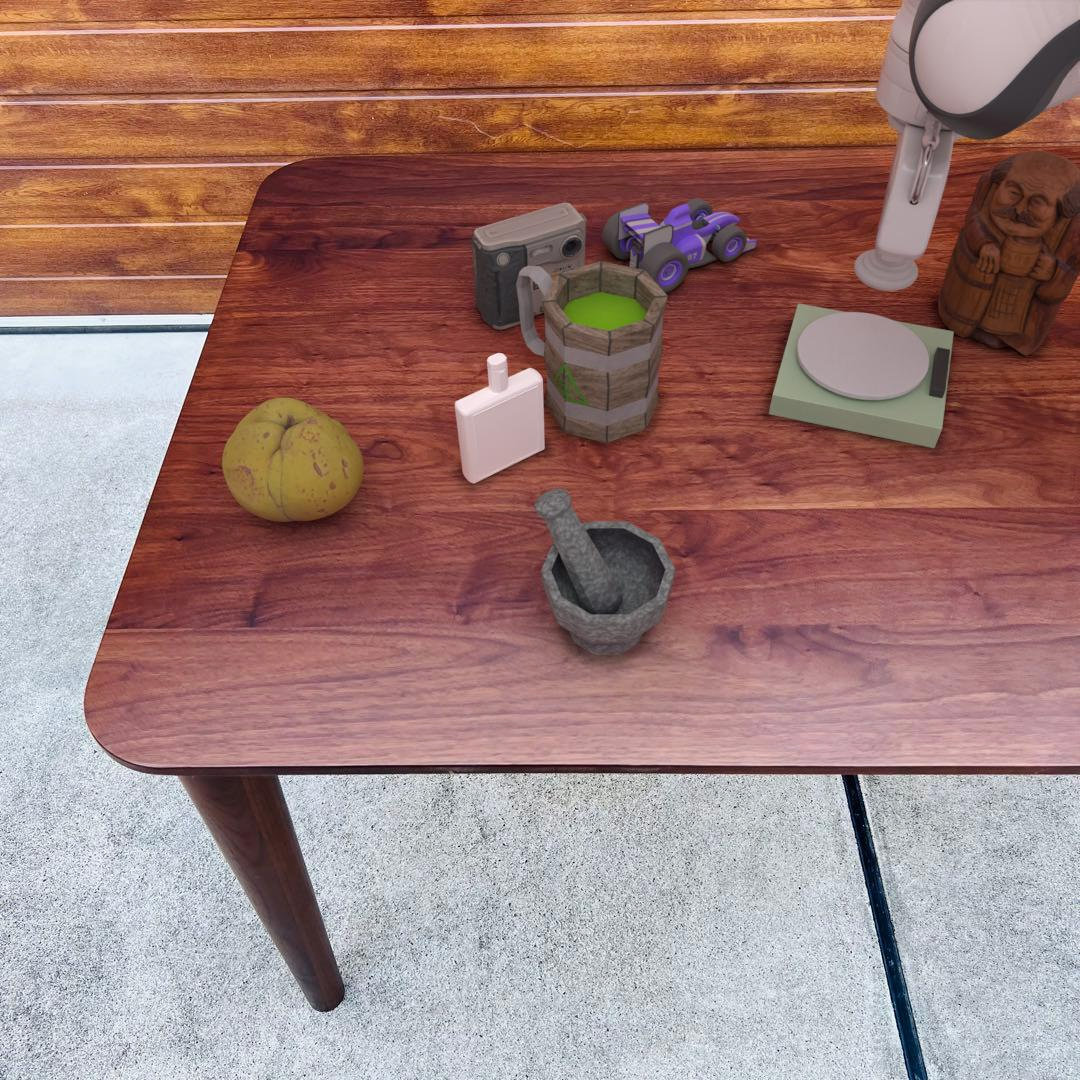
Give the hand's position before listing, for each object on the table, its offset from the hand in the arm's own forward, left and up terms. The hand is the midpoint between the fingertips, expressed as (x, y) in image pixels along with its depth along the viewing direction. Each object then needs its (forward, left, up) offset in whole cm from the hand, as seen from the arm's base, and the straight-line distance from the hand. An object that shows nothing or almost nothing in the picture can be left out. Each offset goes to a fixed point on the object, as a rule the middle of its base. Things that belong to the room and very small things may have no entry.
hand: (895, 241), depth 84 cm
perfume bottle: (+29, +20, -16) cm, 38 cm away
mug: (+25, +9, -16) cm, 30 cm away
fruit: (+44, +30, -16) cm, 55 cm away
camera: (+34, -2, -16) cm, 37 cm away
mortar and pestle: (+16, +34, -16) cm, 40 cm away
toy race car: (+21, -15, -16) cm, 30 cm away
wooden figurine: (-11, -12, -16) cm, 23 cm away
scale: (0, 0, -16) cm, 16 cm away
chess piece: (0, 0, -4) cm, 4 cm away
